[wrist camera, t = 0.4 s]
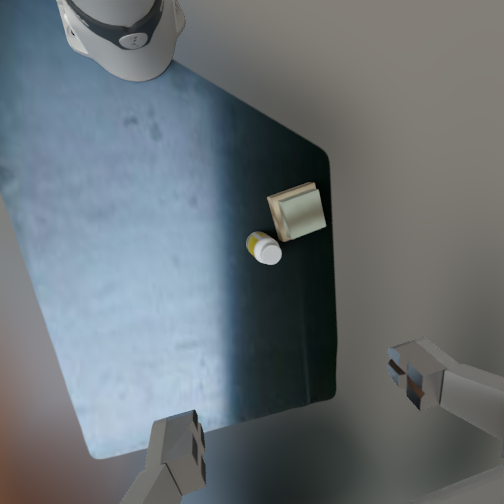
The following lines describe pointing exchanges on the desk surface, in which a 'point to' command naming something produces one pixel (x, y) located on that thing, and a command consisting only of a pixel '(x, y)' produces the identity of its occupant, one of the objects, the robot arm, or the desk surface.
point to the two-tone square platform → (297, 211)
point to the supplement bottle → (263, 248)
